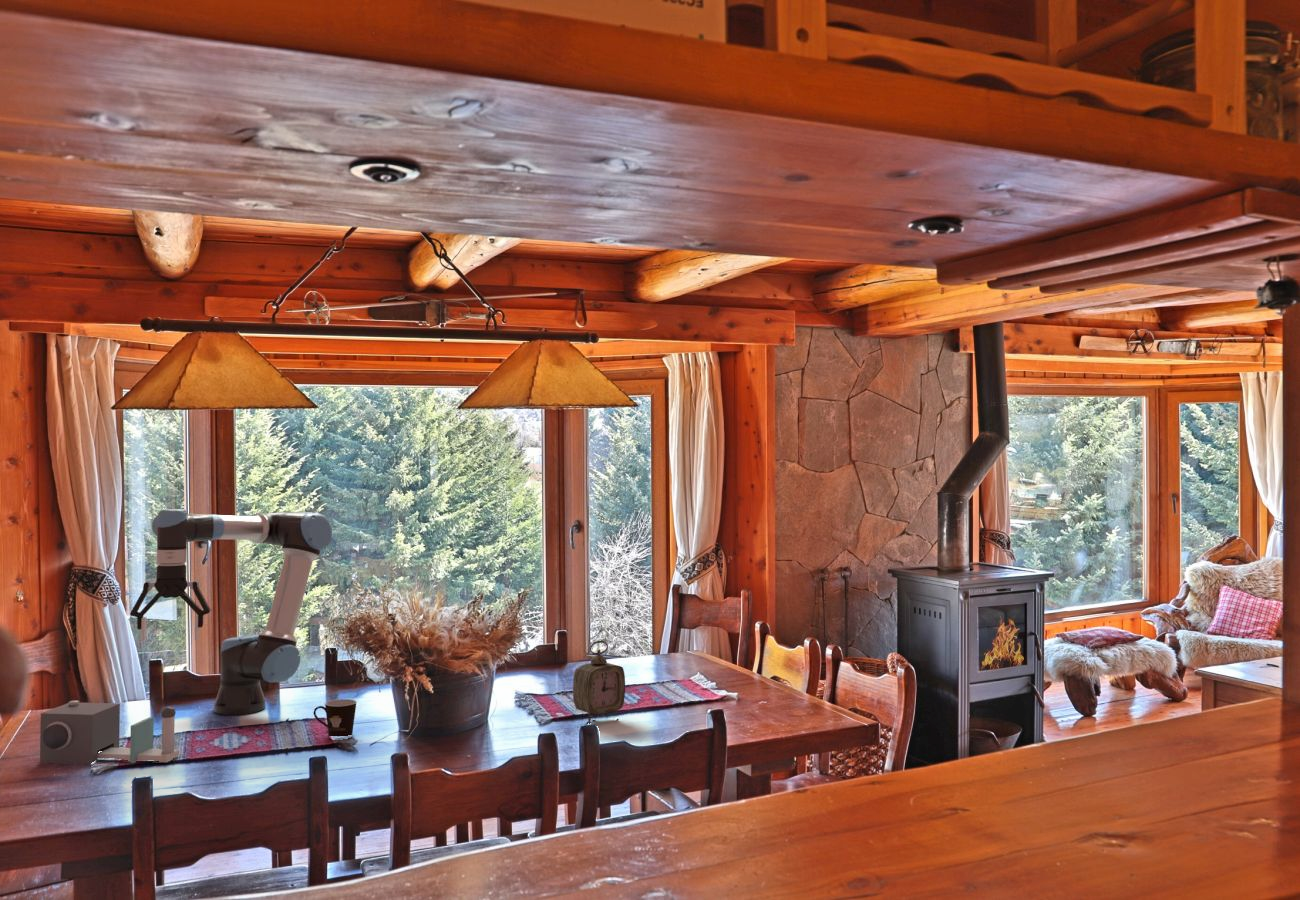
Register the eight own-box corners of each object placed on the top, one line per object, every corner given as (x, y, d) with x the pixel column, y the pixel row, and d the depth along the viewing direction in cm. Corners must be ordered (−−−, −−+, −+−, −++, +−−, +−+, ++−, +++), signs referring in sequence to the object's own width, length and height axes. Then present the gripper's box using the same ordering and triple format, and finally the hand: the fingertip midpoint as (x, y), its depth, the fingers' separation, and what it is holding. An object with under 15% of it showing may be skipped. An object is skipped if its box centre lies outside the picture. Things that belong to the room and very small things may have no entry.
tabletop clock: (587, 729, 299) (588, 645, 299) (569, 722, 306) (570, 641, 306) (624, 721, 308) (625, 640, 309) (606, 715, 315) (607, 636, 315)
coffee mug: (362, 736, 288) (362, 701, 289) (339, 743, 281) (339, 707, 281) (334, 730, 294) (334, 696, 295) (310, 737, 287) (311, 702, 287)
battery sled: (182, 754, 268) (183, 702, 268) (164, 764, 259) (165, 711, 260) (113, 752, 270) (114, 701, 270) (93, 762, 261) (94, 709, 261)
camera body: (119, 751, 271) (119, 699, 271) (86, 767, 257) (87, 712, 257) (69, 750, 272) (70, 698, 272) (34, 765, 258) (35, 711, 258)
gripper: (119, 566, 273) (118, 644, 273) (217, 564, 280) (216, 640, 280) (125, 563, 280) (124, 639, 280) (221, 562, 287) (220, 636, 287)
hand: (170, 640), depth 280 cm, fingers open, 13 cm apart
